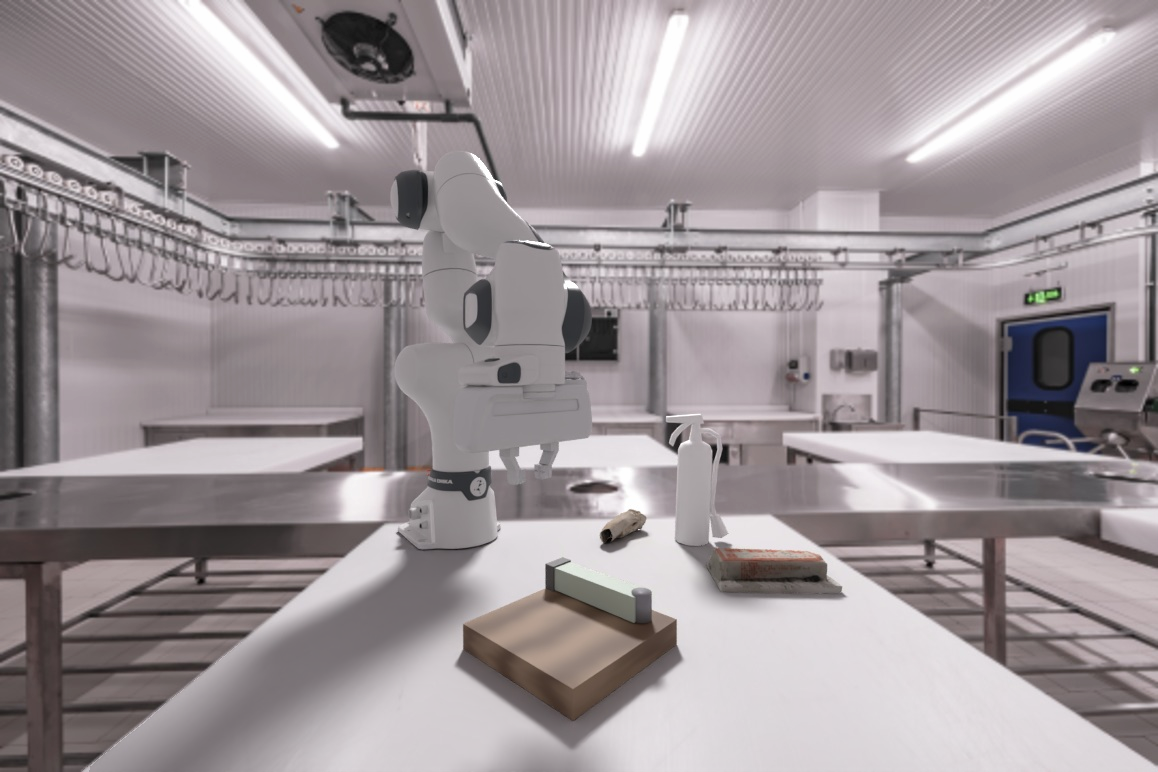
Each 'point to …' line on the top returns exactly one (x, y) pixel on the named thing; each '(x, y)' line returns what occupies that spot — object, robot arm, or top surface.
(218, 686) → the top surface
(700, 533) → the fire extinguisher
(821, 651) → the top surface
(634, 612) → the hinged leg
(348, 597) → the top surface
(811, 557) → the packaged product
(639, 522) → the bone fragment
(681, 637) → the top surface
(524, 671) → the stool seat
